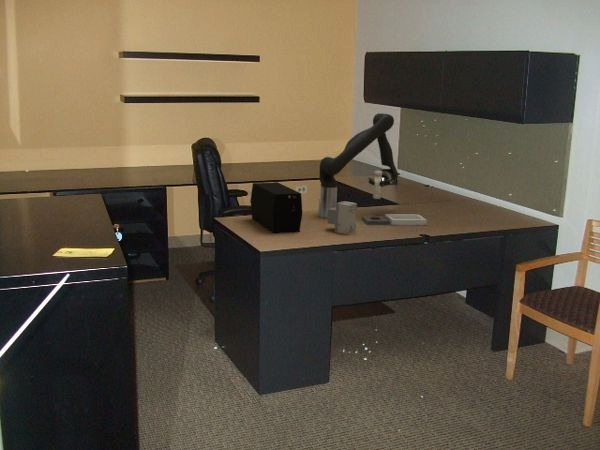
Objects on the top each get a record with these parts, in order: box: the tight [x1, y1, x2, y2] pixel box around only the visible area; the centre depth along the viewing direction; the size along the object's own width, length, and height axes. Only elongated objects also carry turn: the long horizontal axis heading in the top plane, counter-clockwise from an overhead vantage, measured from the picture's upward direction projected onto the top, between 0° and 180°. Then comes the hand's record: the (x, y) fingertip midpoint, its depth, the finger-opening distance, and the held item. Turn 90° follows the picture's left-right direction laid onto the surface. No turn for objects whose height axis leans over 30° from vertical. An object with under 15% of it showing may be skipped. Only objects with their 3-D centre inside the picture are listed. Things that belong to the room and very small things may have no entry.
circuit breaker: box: [327, 200, 358, 235], centre depth 340 cm, size 8×14×15 cm, turn 56°
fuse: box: [372, 170, 382, 200], centre depth 359 cm, size 4×4×15 cm
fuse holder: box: [361, 215, 390, 226], centre depth 363 cm, size 12×12×2 cm
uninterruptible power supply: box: [249, 181, 303, 235], centre depth 344 cm, size 16×34×20 cm, turn 24°
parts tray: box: [384, 213, 428, 226], centre depth 365 cm, size 20×14×3 cm
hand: (376, 183), depth 356 cm, fingers closed on fuse, 3 cm apart
